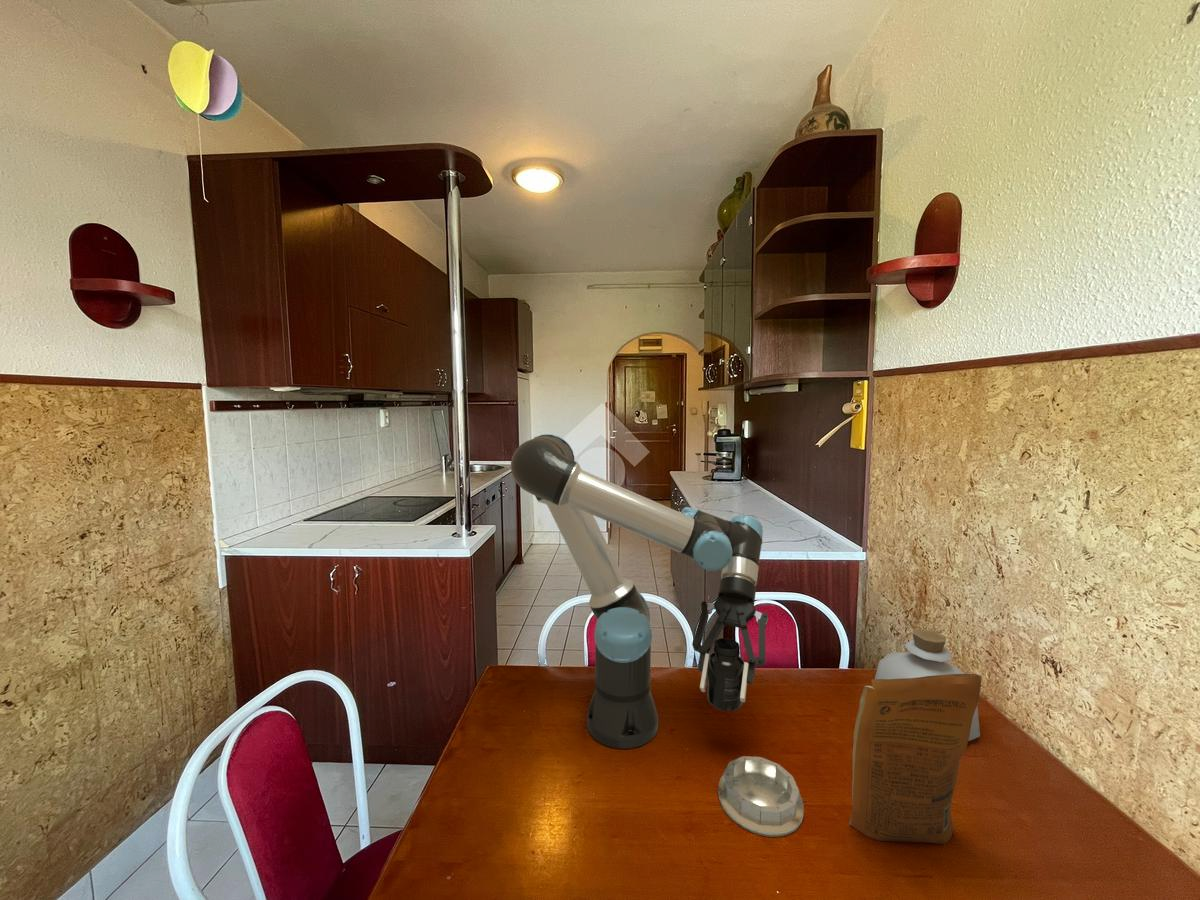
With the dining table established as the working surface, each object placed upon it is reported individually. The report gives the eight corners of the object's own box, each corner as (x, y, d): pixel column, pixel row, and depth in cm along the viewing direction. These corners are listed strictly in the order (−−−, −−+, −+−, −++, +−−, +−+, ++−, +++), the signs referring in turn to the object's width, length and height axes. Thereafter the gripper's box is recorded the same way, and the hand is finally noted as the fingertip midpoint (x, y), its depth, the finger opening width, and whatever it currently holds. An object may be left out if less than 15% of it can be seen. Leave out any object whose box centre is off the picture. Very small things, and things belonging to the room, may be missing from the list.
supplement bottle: (744, 696, 98) (748, 640, 97) (739, 716, 92) (743, 656, 91) (710, 687, 101) (713, 632, 100) (703, 706, 95) (706, 647, 94)
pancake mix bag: (981, 856, 75) (999, 684, 71) (853, 849, 76) (864, 679, 72) (952, 818, 81) (967, 659, 78) (835, 812, 82) (844, 655, 79)
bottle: (963, 766, 93) (972, 672, 91) (856, 713, 108) (862, 632, 106) (993, 722, 105) (1001, 639, 103) (893, 680, 121) (898, 607, 118)
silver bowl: (706, 810, 83) (707, 791, 82) (732, 759, 94) (733, 742, 94) (793, 852, 75) (794, 832, 75) (810, 791, 87) (811, 773, 86)
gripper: (786, 598, 105) (777, 713, 92) (695, 582, 112) (674, 687, 100) (787, 583, 99) (777, 703, 86) (690, 567, 107) (668, 676, 94)
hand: (722, 694), depth 93 cm, fingers closed on supplement bottle, 7 cm apart
